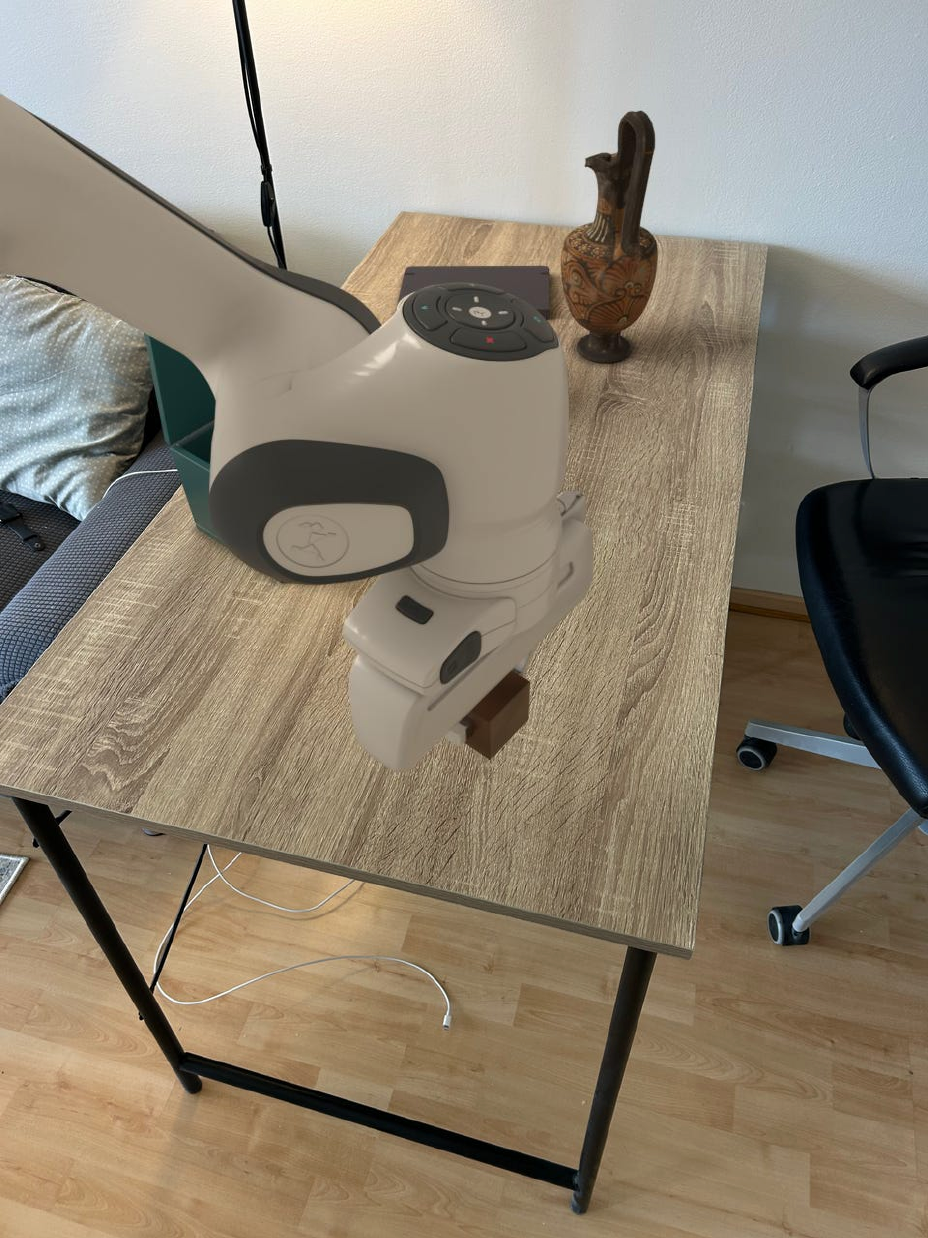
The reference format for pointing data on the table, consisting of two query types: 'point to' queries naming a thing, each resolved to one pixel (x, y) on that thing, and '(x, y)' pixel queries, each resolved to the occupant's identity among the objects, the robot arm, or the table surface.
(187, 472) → the teal open-top bin
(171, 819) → the table surface
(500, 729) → the block
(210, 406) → the lid
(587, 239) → the vase
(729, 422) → the table surface
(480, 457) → the robot arm
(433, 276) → the notebook
